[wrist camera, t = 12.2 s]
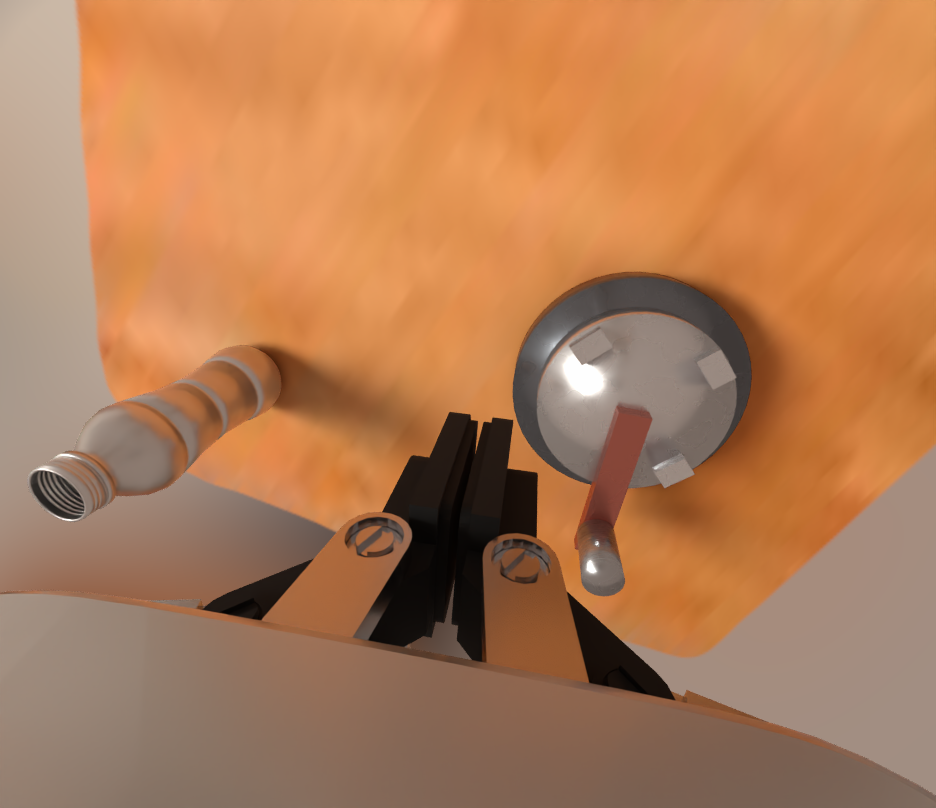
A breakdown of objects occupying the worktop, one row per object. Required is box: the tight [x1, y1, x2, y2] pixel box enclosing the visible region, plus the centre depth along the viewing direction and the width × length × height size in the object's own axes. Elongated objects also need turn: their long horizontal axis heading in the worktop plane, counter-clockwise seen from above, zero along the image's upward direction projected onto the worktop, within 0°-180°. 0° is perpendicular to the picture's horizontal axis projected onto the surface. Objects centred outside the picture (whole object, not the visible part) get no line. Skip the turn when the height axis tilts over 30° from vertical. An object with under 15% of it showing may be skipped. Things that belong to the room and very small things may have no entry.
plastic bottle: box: [27, 345, 281, 522], centre depth 34 cm, size 6×7×20 cm
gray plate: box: [513, 272, 751, 485], centre depth 37 cm, size 18×18×3 cm
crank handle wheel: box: [537, 307, 737, 596], centre depth 32 cm, size 14×20×9 cm
